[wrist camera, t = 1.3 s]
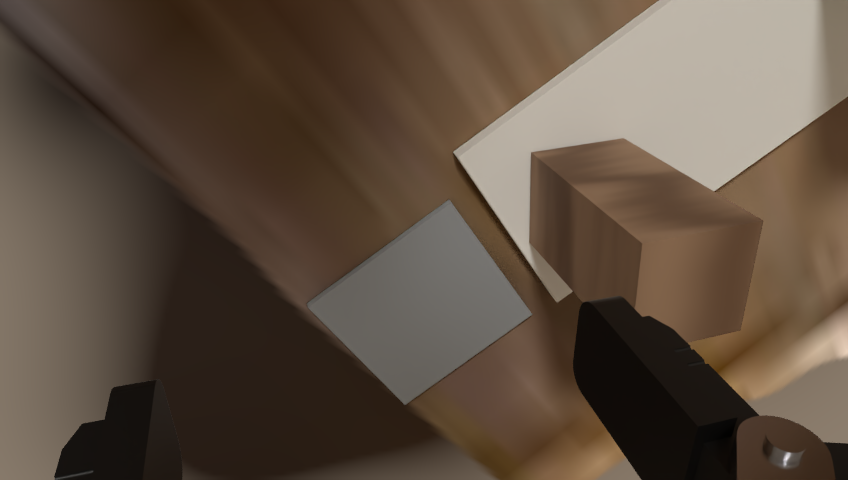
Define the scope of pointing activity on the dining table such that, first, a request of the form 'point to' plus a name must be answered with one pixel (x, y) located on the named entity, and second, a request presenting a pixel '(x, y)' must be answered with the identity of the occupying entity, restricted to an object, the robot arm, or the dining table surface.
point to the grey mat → (422, 304)
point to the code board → (672, 98)
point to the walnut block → (643, 236)
